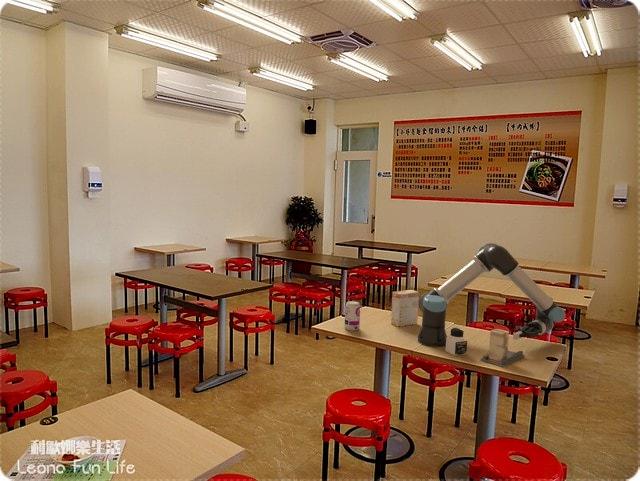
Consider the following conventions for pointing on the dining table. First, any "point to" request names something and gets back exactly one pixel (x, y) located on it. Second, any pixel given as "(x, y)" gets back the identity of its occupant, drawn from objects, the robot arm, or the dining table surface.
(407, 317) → the coffeecake box
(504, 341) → the birch block
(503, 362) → the guide track
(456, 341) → the medicine bottle
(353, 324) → the supplement can
